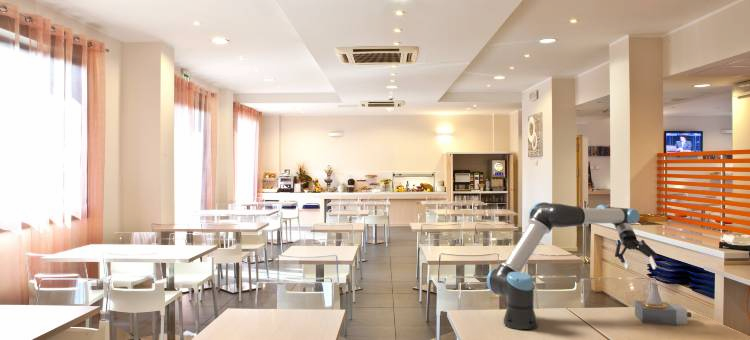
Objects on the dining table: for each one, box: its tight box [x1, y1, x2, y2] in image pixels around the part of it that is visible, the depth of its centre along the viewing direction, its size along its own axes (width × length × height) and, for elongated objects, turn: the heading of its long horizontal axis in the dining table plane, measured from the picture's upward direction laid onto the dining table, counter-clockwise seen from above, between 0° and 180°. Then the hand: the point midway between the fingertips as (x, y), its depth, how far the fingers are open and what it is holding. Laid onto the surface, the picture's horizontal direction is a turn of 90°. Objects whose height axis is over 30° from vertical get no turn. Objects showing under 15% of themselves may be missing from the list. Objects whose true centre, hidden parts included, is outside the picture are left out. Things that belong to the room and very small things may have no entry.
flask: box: [646, 282, 663, 306], centre depth 232 cm, size 7×7×10 cm
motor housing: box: [634, 300, 692, 326], centre depth 231 cm, size 22×14×7 cm, turn 75°
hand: (641, 268), depth 243 cm, fingers open, 13 cm apart
